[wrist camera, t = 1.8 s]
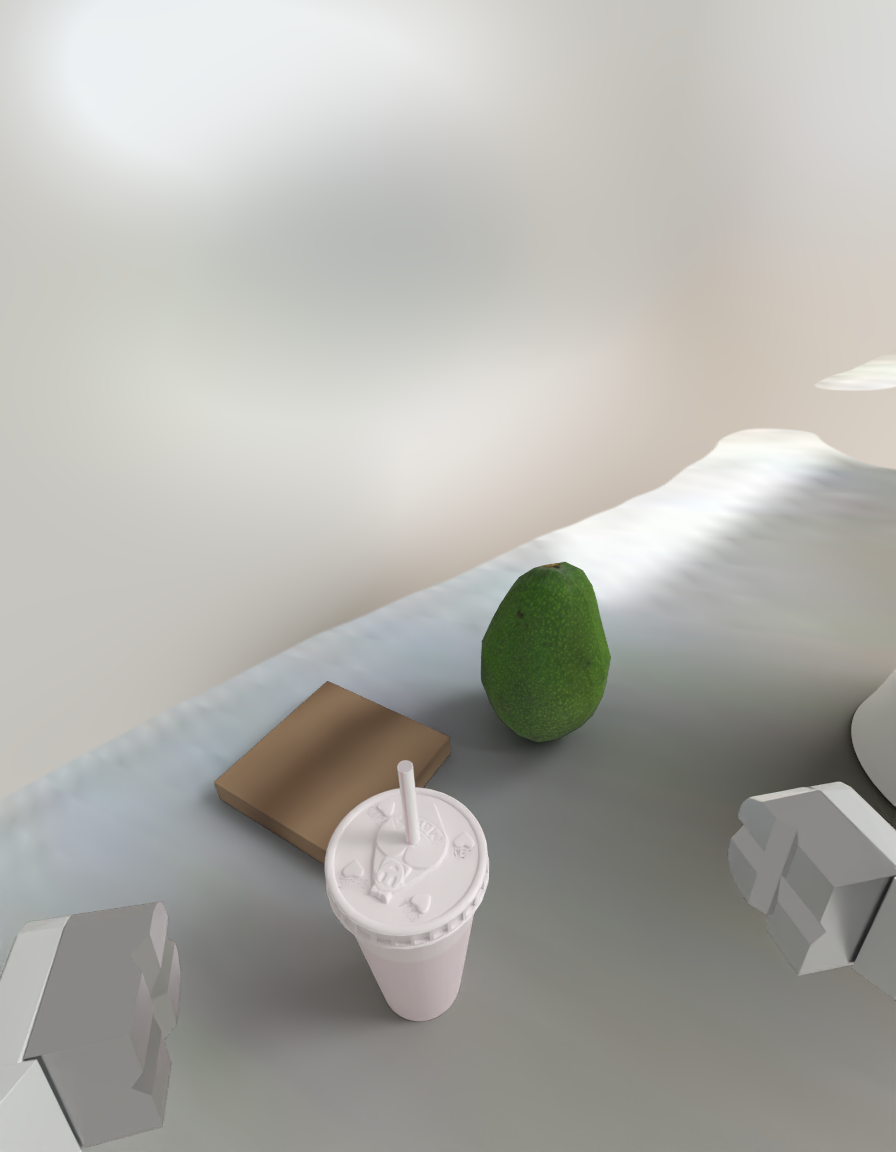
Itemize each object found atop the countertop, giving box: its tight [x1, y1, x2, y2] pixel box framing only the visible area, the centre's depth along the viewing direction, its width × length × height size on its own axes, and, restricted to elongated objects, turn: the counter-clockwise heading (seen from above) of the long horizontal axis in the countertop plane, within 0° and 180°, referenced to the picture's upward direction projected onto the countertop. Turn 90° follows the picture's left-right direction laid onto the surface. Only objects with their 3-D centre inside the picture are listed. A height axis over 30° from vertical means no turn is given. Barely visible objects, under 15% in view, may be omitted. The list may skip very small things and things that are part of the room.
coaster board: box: [214, 681, 451, 865], centre depth 40 cm, size 10×10×2 cm
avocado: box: [481, 562, 611, 743], centre depth 41 cm, size 8×8×12 cm
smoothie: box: [325, 760, 489, 1021], centre depth 27 cm, size 6×6×14 cm
